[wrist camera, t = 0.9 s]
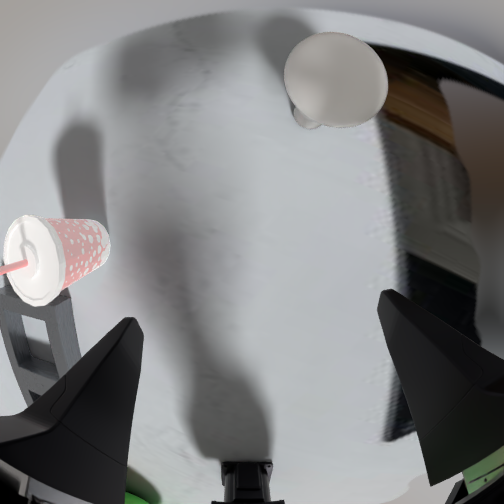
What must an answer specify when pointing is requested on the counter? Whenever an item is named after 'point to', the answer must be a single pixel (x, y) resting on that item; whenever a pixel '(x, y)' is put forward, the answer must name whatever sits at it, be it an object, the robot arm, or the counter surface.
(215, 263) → the counter surface
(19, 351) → the socket block
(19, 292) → the beverage cup
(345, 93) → the lightbulb
